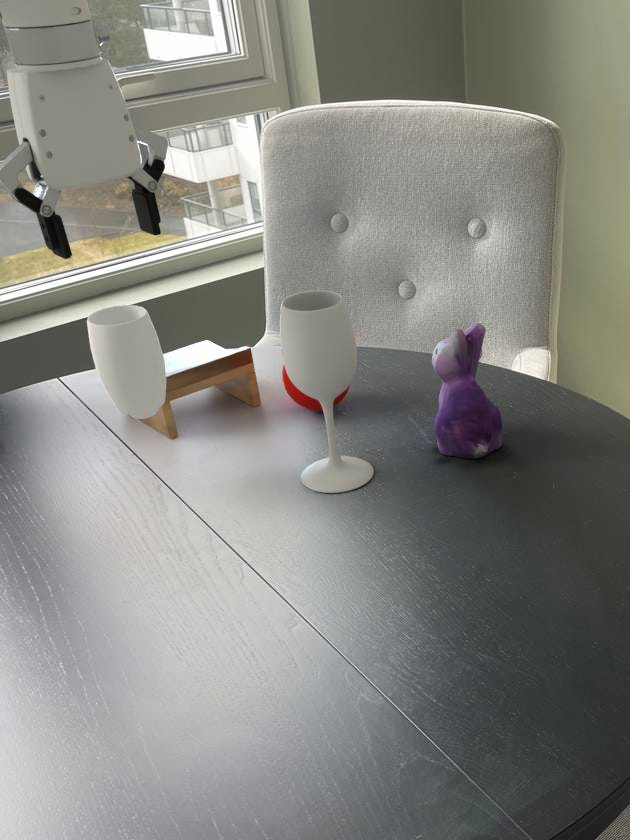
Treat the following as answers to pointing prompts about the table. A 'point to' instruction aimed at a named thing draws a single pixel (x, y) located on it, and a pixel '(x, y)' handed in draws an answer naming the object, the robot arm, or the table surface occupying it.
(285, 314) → the wineglass
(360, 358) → the table surface
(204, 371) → the stand
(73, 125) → the robot arm
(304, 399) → the ornament
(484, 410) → the figurine
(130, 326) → the cup
